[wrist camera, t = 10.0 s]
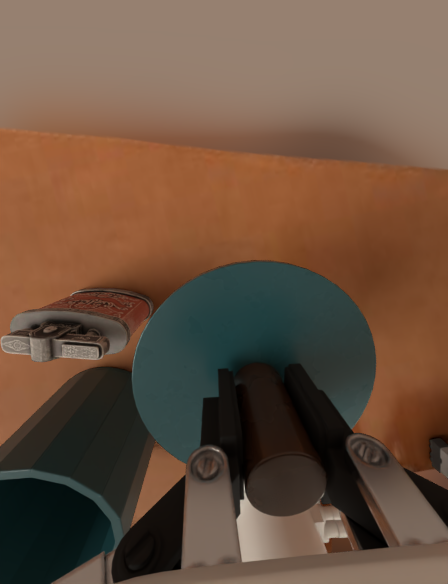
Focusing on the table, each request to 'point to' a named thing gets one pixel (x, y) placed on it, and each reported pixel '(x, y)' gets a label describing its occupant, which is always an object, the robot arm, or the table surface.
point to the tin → (71, 478)
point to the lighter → (79, 325)
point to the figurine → (439, 455)
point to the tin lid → (255, 370)
